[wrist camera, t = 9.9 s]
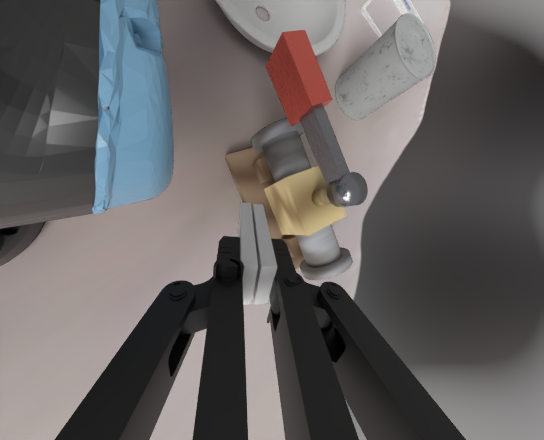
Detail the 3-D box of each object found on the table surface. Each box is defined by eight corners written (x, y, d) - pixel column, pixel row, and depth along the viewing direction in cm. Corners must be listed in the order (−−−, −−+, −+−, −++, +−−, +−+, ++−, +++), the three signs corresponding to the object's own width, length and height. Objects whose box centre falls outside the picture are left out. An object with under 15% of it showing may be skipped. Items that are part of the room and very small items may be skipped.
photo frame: (424, 22, 52) (400, 63, 47) (420, 27, 53) (396, 66, 48) (393, -32, 47) (362, 6, 42) (388, -26, 48) (358, 11, 43)
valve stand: (225, 157, 30) (251, 108, 18) (285, 141, 34) (339, 93, 22) (273, 277, 32) (326, 305, 20) (324, 247, 36) (392, 256, 24)
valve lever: (287, 62, 20) (307, 29, 17) (344, 201, 22) (372, 196, 19) (262, 66, 19) (279, 32, 16) (325, 213, 21) (351, 210, 18)
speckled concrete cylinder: (333, 68, 39) (393, 2, 28) (368, 80, 43) (433, 26, 32) (336, 115, 39) (398, 68, 28) (371, 123, 43) (437, 85, 31)
